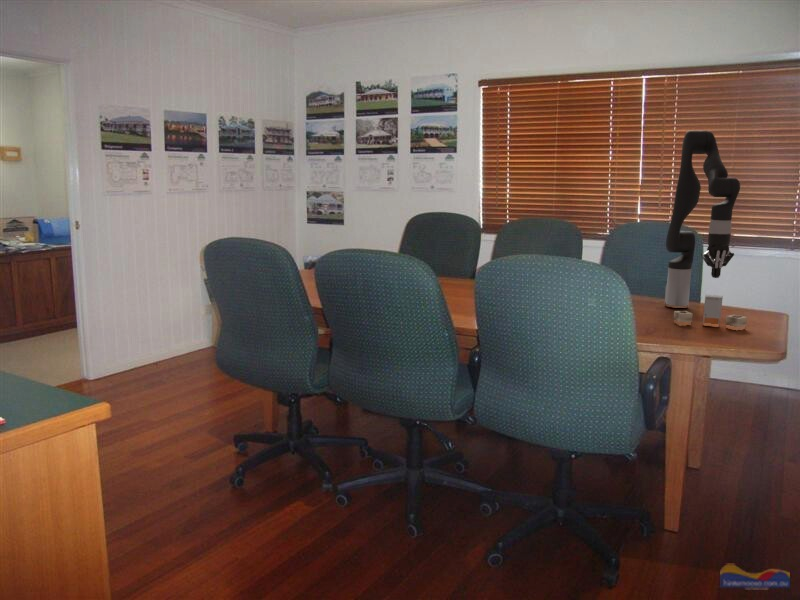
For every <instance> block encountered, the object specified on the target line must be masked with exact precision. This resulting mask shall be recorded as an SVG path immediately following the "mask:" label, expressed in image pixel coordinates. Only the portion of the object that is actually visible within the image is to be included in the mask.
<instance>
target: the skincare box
mask: <svg viewBox="0 0 800 600" xmlns="http://www.w3.org/2000/svg"><path fill="white" fill-rule="evenodd" d="M723 298H724V297H723V295H717V294H705V297H704V305H703V316H702V324H703V323H711V324H720V325H721V319H722V318H721V316H722V309H723V308H722V306H723Z"/></svg>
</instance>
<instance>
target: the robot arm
mask: <svg viewBox="0 0 800 600" xmlns="http://www.w3.org/2000/svg"><path fill="white" fill-rule="evenodd" d="M681 146H682V147H681V158H680V167H679V175H678V180H677V184H676V190H675V194H674V202H673V210H672V214H671V219H670V221H669V222H670V223H669V226H668V230H667V234H666V239H665V248H666V250H667V251H668V252H669V253H680V255H679V256H678V257H676V258H672V259H671V260H669V262H668V265H667V280H666V282H667V283H666V284H665V292H664V293H665V294H664V303H665V302H666V304H669V305H674V306H687V305H688V306H689V302H690V289H691V280H692V279H691V278H692V277H691V276H692V267H693V266H692V265H693V262H694V256H695V255H694V254H695V249H696V248H695V247H696V236H695V233H694V232H693V231H692V230H681V228H682V227H683V226H682V225H683V223H684V222H685V220H686V218H687V217H688V216H689V215H690V214H691V213H692V212H693V211H694V209H695V208H696V206H697V205H698V203H699V199H700V194H701V189H702V187H701V186H702V185H701V183H700V180H699V178H698V176H697V174H696V171H695V169H694V166H693V156H694V155H707V156H706V158H705V160H704V161H703V165H702V168H703V169H702V170H703V172H704V174H705V176H706V178H707V183H708V187H707V188H708V189H707V190H708V194H709V195H710V196H712V197H713V198H725V199H724V200H723V201H722V202H718V203H715V204H713V205H712V206H711V210H710V211H711V213H710V221H709V226H708V236H707V244H708V246H707V248H706V251H705V252H704V253H703V252H702V253H701V254H700V257H702V259H703V261H704V262H705V264H706V266H708V267H710V268H711V274H710V275H711V277H712V278H714V279H719V278H720V277H721V271H722V268H724V267H726V266H728V264H729V262H730V261H731V260H732V259H733V257H734V256H735V253H734V252H731V251H730V247H729V245H730V244H731V237H732V236H731V235H732V227H733V225H732V218H733V210H734V206H735V204H736V200H737V198H738V196H739V193H740V190H741V183H740V180H739V179H737V178H736V177H728V175H729V172H728V170H727V168H726V166H725V165H724V163H723V161H722V159H721V155H720V152H719V147H718V144H717V140H716V137H715V135H714V132H712V131H709V130H687V131H686V132H685V134H684V137H683V140H682V145H681Z"/></svg>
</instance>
